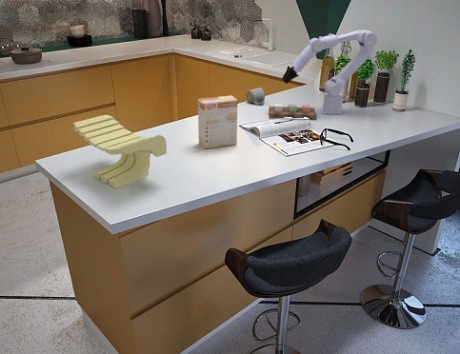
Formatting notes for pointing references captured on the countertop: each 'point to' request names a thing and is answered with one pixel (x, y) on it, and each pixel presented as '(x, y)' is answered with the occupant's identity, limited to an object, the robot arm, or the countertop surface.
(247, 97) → the ceramic mug
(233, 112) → the coffeecake box
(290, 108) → the sage button
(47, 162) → the countertop surface
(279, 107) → the cream button
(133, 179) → the slatted lounge chair
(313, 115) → the button panel
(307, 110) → the terracotta button
